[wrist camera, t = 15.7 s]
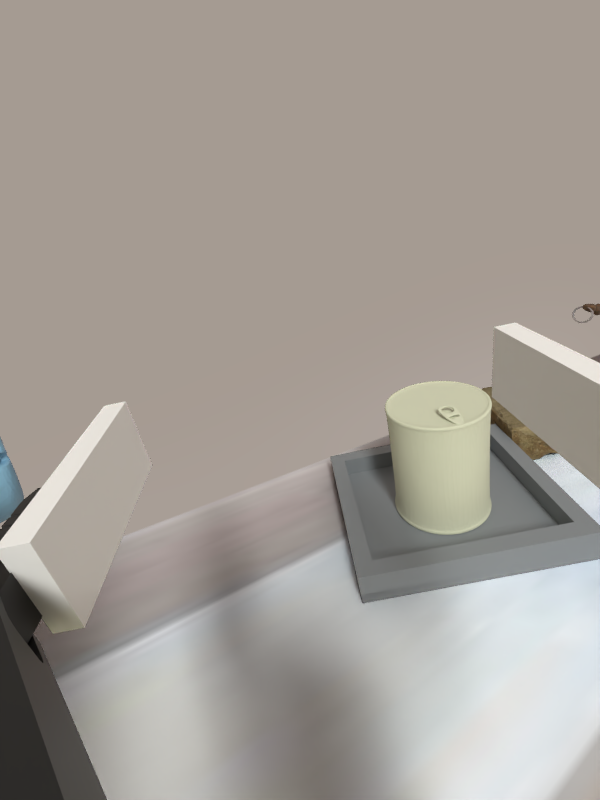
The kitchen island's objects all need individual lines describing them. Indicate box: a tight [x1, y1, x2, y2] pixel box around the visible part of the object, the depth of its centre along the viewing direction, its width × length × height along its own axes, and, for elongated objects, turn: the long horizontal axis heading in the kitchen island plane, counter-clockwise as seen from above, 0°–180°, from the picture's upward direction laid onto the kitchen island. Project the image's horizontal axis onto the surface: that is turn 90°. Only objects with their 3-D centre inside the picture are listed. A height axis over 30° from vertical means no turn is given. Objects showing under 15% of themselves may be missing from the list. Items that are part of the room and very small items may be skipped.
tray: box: [331, 424, 600, 603], centre depth 42 cm, size 20×18×3 cm
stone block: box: [482, 387, 557, 460], centre depth 50 cm, size 6×12×5 cm, turn 2°
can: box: [385, 381, 492, 535], centre depth 39 cm, size 9×9×12 cm
